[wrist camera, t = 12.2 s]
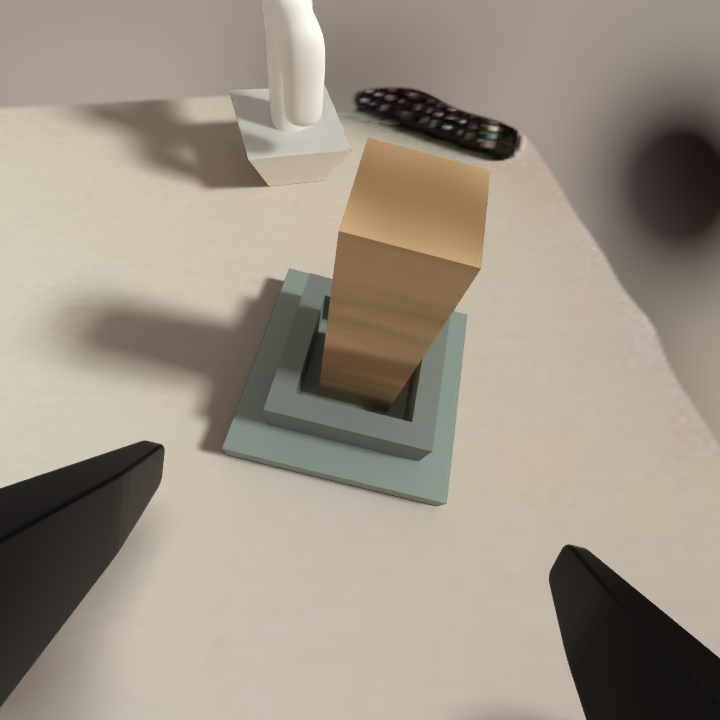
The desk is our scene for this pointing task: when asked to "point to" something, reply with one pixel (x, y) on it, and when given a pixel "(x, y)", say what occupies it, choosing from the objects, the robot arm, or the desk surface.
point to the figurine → (291, 102)
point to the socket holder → (346, 406)
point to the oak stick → (399, 268)
